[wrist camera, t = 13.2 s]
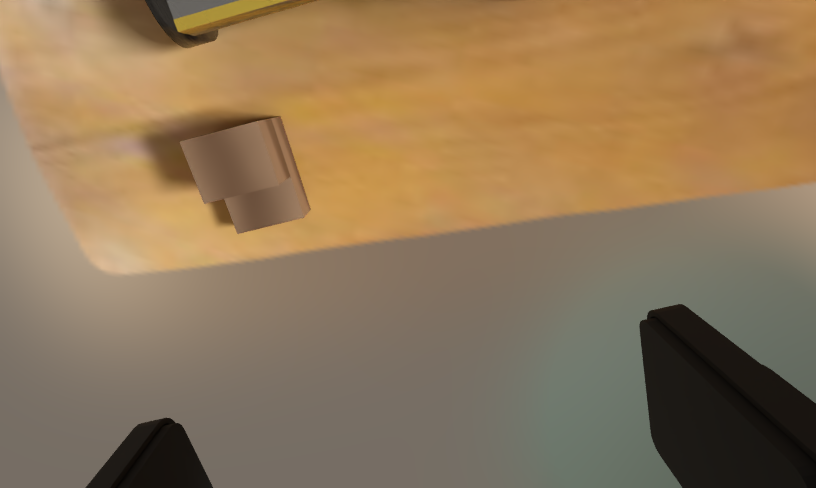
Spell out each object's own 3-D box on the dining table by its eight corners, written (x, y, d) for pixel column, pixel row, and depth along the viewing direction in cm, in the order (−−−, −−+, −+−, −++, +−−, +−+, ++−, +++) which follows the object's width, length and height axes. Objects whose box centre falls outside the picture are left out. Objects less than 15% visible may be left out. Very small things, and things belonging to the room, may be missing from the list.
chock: (280, 116, 33) (257, 121, 28) (311, 209, 35) (294, 229, 30) (215, 133, 33) (179, 141, 28) (248, 224, 35) (221, 247, 30)
